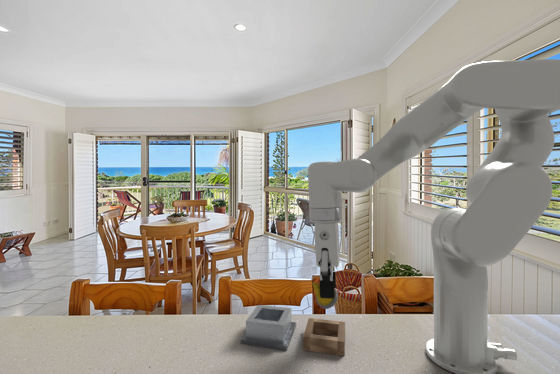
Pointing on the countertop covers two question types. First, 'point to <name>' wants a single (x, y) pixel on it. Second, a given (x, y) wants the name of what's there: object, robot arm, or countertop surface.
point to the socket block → (324, 342)
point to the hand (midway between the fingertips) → (328, 291)
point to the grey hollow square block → (269, 328)
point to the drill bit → (324, 302)
